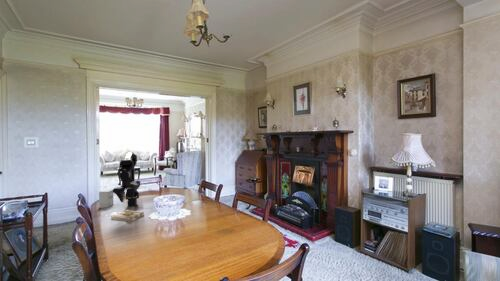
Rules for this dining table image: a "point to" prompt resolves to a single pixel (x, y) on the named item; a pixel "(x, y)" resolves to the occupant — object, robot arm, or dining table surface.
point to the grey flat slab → (113, 214)
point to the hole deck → (129, 218)
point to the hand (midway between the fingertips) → (127, 200)
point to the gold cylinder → (127, 212)
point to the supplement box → (105, 198)
